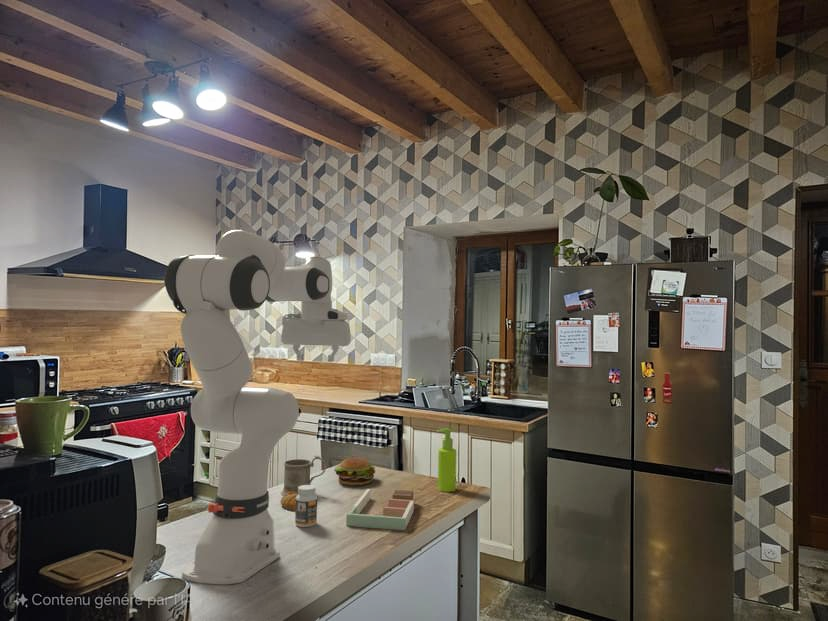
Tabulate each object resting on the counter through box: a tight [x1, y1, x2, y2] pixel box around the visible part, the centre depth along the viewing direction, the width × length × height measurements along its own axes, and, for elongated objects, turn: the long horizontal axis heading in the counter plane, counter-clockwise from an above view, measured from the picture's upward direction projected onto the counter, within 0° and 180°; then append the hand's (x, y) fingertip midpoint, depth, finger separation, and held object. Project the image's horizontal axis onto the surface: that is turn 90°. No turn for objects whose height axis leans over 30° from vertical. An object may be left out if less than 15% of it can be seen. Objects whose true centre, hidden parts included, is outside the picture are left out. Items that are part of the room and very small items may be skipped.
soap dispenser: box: [436, 428, 457, 493], centre depth 186 cm, size 6×7×20 cm
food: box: [334, 456, 376, 486], centre depth 194 cm, size 14×14×8 cm
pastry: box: [280, 492, 299, 512], centre depth 165 cm, size 9×7×4 cm
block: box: [391, 489, 414, 500], centre depth 169 cm, size 6×6×4 cm
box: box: [345, 488, 415, 531], centre depth 161 cm, size 24×16×3 cm, turn 171°
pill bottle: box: [294, 484, 318, 528], centre depth 151 cm, size 6×6×10 cm
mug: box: [280, 455, 327, 497], centre depth 179 cm, size 14×10×12 cm
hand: (315, 361), depth 163 cm, fingers open, 8 cm apart
